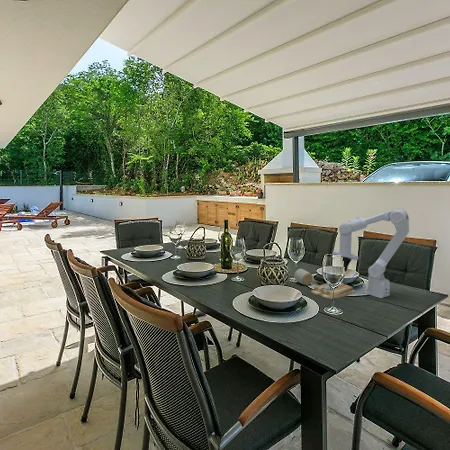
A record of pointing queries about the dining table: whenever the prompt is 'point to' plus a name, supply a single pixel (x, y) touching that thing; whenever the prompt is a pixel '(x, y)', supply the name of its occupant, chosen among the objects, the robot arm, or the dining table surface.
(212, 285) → the dining table surface
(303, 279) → the grey canister
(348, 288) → the light wood flat board
